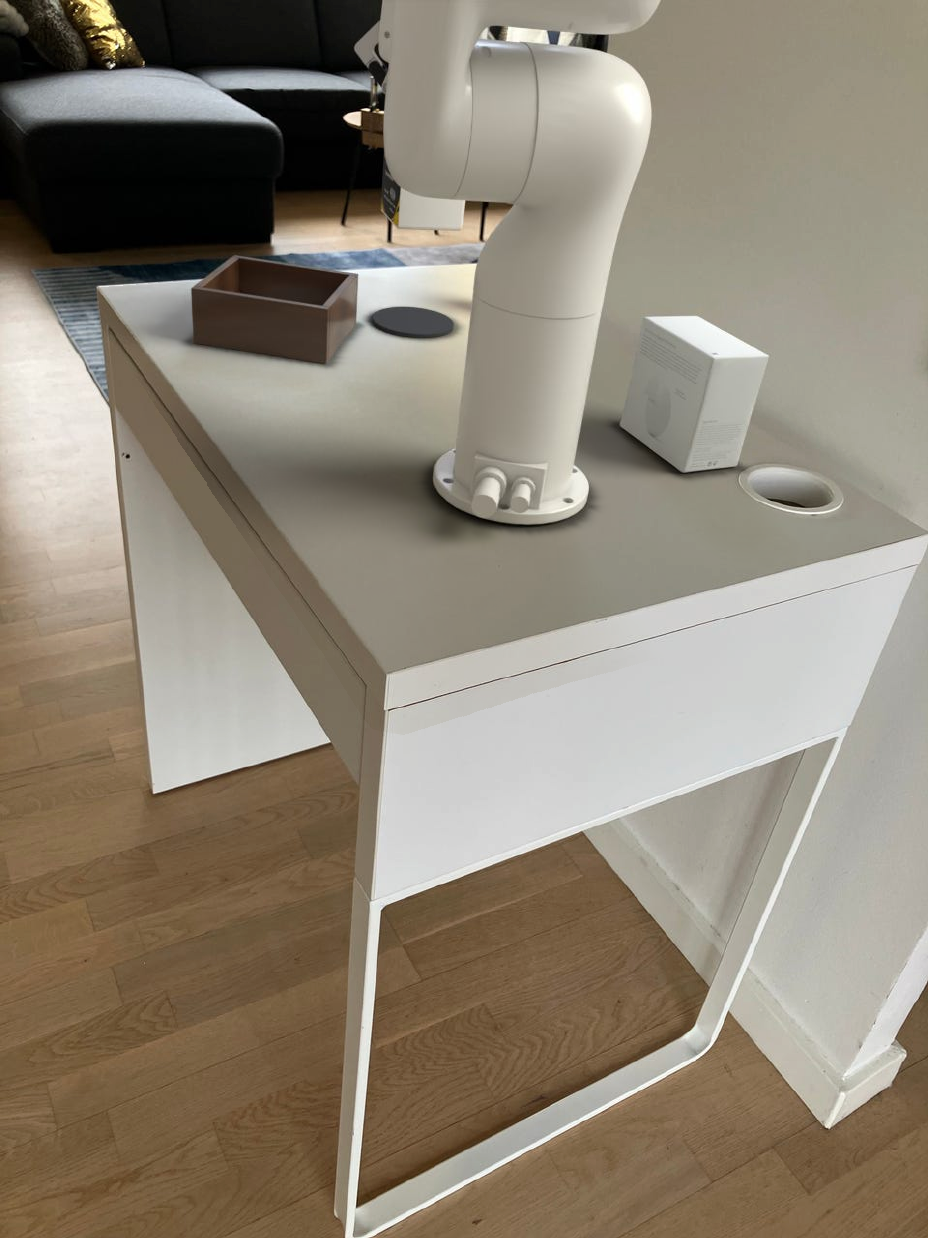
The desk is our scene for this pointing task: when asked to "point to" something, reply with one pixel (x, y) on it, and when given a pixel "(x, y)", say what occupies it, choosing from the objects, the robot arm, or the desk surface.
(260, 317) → the desk caddy
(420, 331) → the coaster
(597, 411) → the desk surface
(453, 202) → the medicine bottle
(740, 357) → the cosmetics box
